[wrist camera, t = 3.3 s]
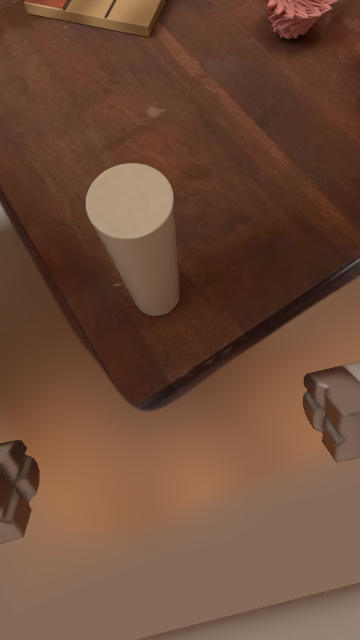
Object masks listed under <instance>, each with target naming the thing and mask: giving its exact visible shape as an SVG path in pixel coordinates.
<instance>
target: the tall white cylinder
mask: <svg viewBox="0 0 360 640" xmlns="http://www.w3.org/2000/svg"><path fill="white" fill-rule="evenodd" d="M86 211H87V215H88V217H89V219H90V221H91V223H92V225H93V227H94V229H95V231H96V232H97V234H98V236H99V238H100V240H101V242H102V244H103V245H104V247H105V249H106V251H107V253H108V255H109V257H110V259H111V260H112V262H113V264H114V266H115V268H116V270H117V272H118V273H119V275H120V277H121V279H122V281H123V283H124V285H125V286H126V288H127V290H128V292H129V294H130V296H131V298H132V300H133V301H134V303H135V305H136V307H137V308H138V309H139V310H140V311H142V312H143V313H145V314H147V315H151V316H160V315H164V314H167V313H168V312H170V311H171V310H173V309H174V308H175V306H176V305H177V303H178V301H179V298H180V282H179V267H178V253H177V238H176V223H175V208H174V195H173V190H172V187H171V185H170V183H169V182H168V180H167V179H166V177H165V176H164V175H163V174H162V173H160V172H159V171H158V170H156V169H154V168H152V167H150V166H147V165H144V164H138V163H127V164H121V165H117V166H114V167H112V168H110V169H108V170H106V171H104V172H103V173H102V174H100V175H99V176H98V177H97V178H96V179H95V180H94V181H93V183H92V184H91V186H90V188H89V190H88V193H87V196H86Z"/></svg>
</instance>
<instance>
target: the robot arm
mask: <svg viewBox="0 0 360 640" xmlns="http://www.w3.org/2000/svg"><path fill="white" fill-rule="evenodd" d="M304 386H305V387H306V388H307V392H306V393H305V394H304V396H303V406H304V410H305V414H306V416H307V418H308V420H309V422H310V424H311V425H312V427H313V428H314V429H316V430H317V431H319V432H321V433H323V438H322V442H323V443H324V445H325V446H326V448H327V449H328V451H329V452H330V454H331V455H332V457H333V458H334V460H335V461H336V462H341V461H346V460H352V459H356V458H360V362H354V363H350V364H346V365H342V366H339V367H333V368H330V369H325V370H321V371H316V372H312V373H308V374H306V376H305V377H304ZM26 449H27V447H26V446H25V445H24V443H23V442H22V441H21V440H15V441H10V442H6V443H0V544H1V543H5V542H8V541H12V540H16V539H19V538H23V537H24V534H25V530H26V527H27V524H28V520H29V517H30V513H31V508H30V506H29V502H30V500H31V499H32V498H33V497H34V496H35V494H36V493H37V489H38V486H39V472H40V471H39V468H38V465H37V463H36V461H35V460H34V458H32V457H30V456H27V455H25V452H26ZM136 640H360V583H357V584H353V585H350V586H346V587H342V588H337V589H333V590H329V591H326V592H322V593H318V594H314V595H310V596H306V597H302V598H298V599H294V600H290V601H286V602H282V603H278V604H275V605H271V606H267V607H263V608H259V609H255V610H251V611H247V612H243V613H239V614H235V615H231V616H227V617H224V618H219V619H215V620H211V621H207V622H203V623H200V624H195V625H192V626H188V627H184V628H180V629H176V630H172V631H168V632H164V633H160V634H156V635H152V636H148V637H144V638H140V639H136Z"/></svg>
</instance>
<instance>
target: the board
mask: <svg viewBox="0 0 360 640" xmlns="http://www.w3.org/2000/svg"><path fill="white" fill-rule="evenodd" d="M166 1H167V0H25V2H24V4H25V7H26V9H27V12H28V13H29V14H34V15H39V16H44V17H49V18H54V19H59V20H64V21H69V22H74V23H79V24H85V25H90V26H95V27H100V28H105V29H110V30H115V31H120V32H125V33H130V34H135V35H141V36H146V37H150V35H151V32H152V30H153V28H154V26H155V24H156V22H157V20H158V18H159V16H160V14H161V11H162V9H163V7H164V5H165V3H166Z"/></svg>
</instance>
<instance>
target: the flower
mask: <svg viewBox="0 0 360 640" xmlns="http://www.w3.org/2000/svg"><path fill="white" fill-rule="evenodd" d="M261 1H263V2H264V3H266V4H267V5H268V7H267V8H268V12H267V14H268V15H269V16H268V20H269V21H270V22H272V26H271V28H274V30H273V32H275V33H278V34H279V35H280V38H283V37H284V38H287V39H291V38H294V39H297V37H298V35H305V33H306V32H307V31H308V30H309V28H311V27H312V25H313V24H314V23H315V21H316V20H317V19H318V18H319V16H321V15H322V14H324V13H326V12H327V11H329V10H332V8H331V5H332V4H334V3H336V2H337V1H338V0H261Z"/></svg>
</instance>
